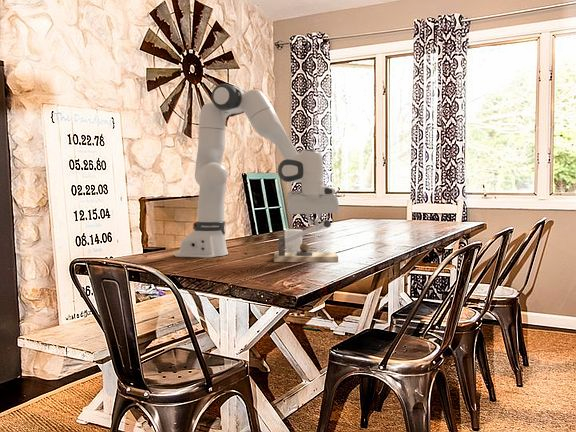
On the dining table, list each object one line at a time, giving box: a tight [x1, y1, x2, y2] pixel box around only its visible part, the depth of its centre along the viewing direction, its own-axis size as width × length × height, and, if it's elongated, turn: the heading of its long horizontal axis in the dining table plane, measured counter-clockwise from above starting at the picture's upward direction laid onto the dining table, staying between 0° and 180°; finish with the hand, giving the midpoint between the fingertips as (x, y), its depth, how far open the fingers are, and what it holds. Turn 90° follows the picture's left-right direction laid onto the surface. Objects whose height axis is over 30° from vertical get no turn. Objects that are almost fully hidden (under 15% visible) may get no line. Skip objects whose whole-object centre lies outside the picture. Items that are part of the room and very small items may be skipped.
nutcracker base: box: [273, 235, 339, 263], centre depth 221 cm, size 25×12×9 cm, turn 90°
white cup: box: [283, 228, 304, 252], centre depth 240 cm, size 8×8×10 cm
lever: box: [285, 219, 332, 243], centre depth 220 cm, size 22×6×3 cm, turn 91°
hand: (313, 225), depth 220 cm, fingers closed
